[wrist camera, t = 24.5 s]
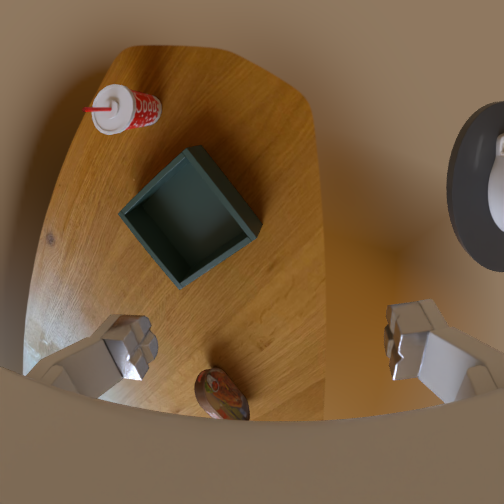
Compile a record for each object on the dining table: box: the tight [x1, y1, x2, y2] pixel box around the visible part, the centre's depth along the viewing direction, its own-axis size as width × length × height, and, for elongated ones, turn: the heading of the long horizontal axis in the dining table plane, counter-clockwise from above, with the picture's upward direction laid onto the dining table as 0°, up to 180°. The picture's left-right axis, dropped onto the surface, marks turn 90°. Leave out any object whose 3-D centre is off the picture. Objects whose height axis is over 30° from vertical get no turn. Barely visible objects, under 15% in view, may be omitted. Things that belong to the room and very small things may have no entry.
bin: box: [118, 145, 263, 290], centre depth 40 cm, size 14×14×5 cm
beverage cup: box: [82, 84, 162, 135], centre depth 31 cm, size 6×6×14 cm
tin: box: [195, 368, 250, 421], centre depth 51 cm, size 15×3×8 cm, turn 29°
